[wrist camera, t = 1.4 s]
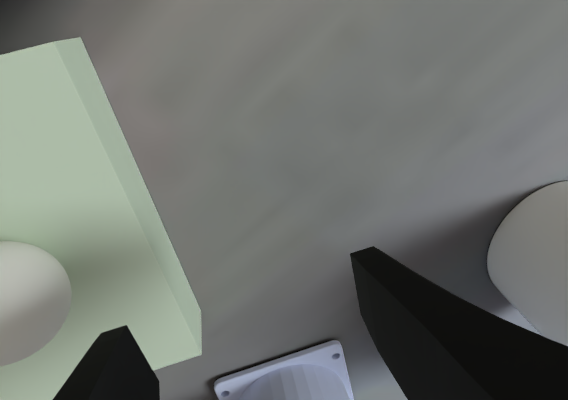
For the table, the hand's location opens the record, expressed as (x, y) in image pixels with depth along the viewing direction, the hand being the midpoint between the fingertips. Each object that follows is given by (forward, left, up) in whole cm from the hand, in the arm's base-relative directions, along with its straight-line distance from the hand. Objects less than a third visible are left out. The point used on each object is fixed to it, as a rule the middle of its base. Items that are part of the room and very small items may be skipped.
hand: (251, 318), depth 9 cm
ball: (0, +8, -4) cm, 9 cm away
